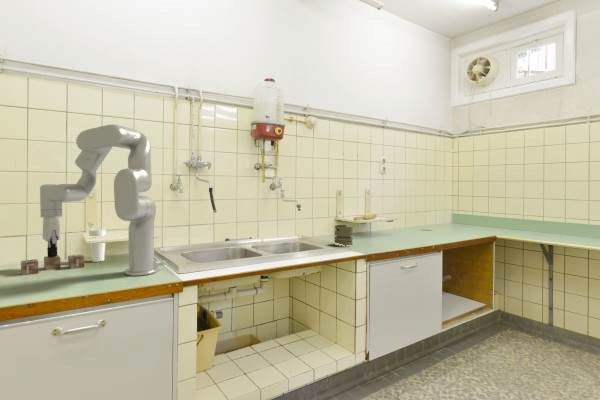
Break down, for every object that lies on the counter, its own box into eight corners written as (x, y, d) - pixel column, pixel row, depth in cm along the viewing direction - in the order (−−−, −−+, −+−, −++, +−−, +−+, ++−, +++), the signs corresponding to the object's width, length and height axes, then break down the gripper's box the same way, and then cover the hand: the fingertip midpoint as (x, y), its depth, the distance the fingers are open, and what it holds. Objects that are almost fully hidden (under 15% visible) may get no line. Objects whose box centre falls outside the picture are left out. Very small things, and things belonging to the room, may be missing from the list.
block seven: (36, 271, 143) (36, 259, 142) (38, 273, 139) (38, 261, 139) (21, 273, 139) (21, 260, 139) (22, 275, 136) (22, 262, 135)
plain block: (58, 266, 151) (58, 255, 151) (60, 268, 147) (60, 257, 147) (44, 268, 148) (43, 256, 147) (46, 270, 144) (45, 258, 144)
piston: (343, 227, 208) (330, 225, 217) (342, 247, 209) (330, 244, 218) (356, 226, 215) (344, 224, 224) (356, 245, 215) (343, 242, 224)
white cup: (86, 262, 159) (85, 230, 158) (94, 259, 165) (94, 228, 165) (101, 262, 159) (101, 230, 158) (109, 259, 166) (108, 228, 165)
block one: (81, 265, 154) (81, 254, 153) (84, 267, 150) (84, 255, 150) (68, 267, 150) (68, 255, 150) (70, 269, 147) (70, 257, 146)
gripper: (38, 212, 149) (39, 254, 150) (43, 215, 139) (44, 260, 139) (58, 212, 155) (59, 252, 155) (65, 214, 144) (66, 257, 144)
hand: (52, 256), depth 147 cm, fingers closed
